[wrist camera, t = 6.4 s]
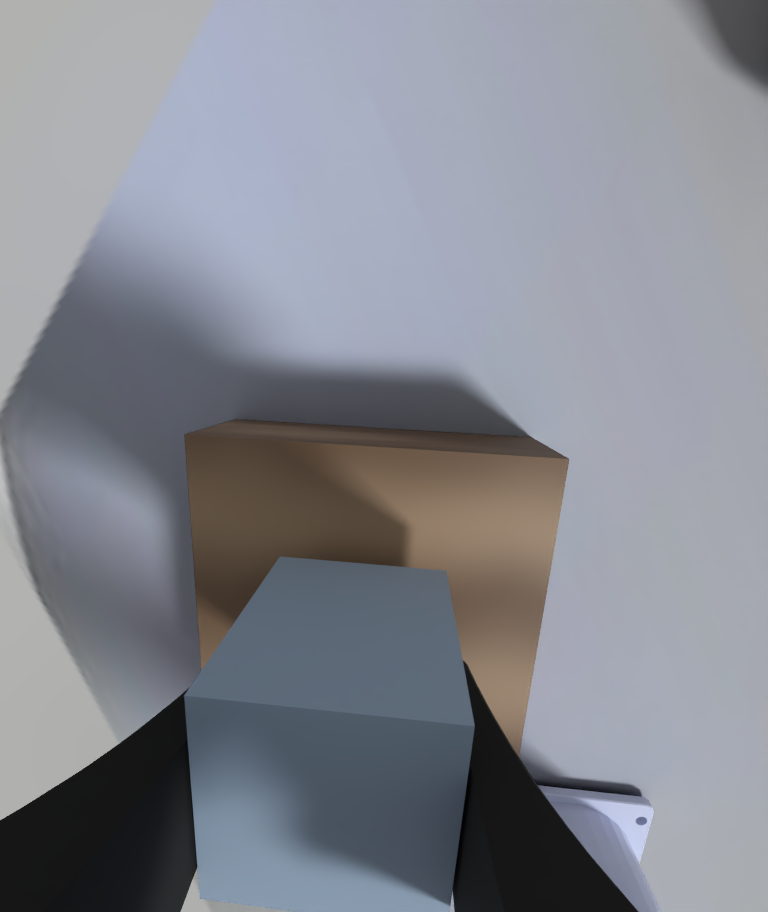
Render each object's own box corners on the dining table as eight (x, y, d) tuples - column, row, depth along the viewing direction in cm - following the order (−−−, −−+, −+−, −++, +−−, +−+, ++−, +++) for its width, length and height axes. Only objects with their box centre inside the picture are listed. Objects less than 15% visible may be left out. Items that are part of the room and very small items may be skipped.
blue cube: (431, 708, 12) (446, 931, 7) (281, 693, 13) (200, 898, 8) (446, 570, 11) (474, 725, 6) (280, 556, 11) (184, 695, 7)
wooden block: (493, 682, 18) (516, 768, 14) (248, 659, 19) (206, 735, 15) (528, 435, 15) (569, 458, 11) (239, 418, 16) (184, 434, 12)
